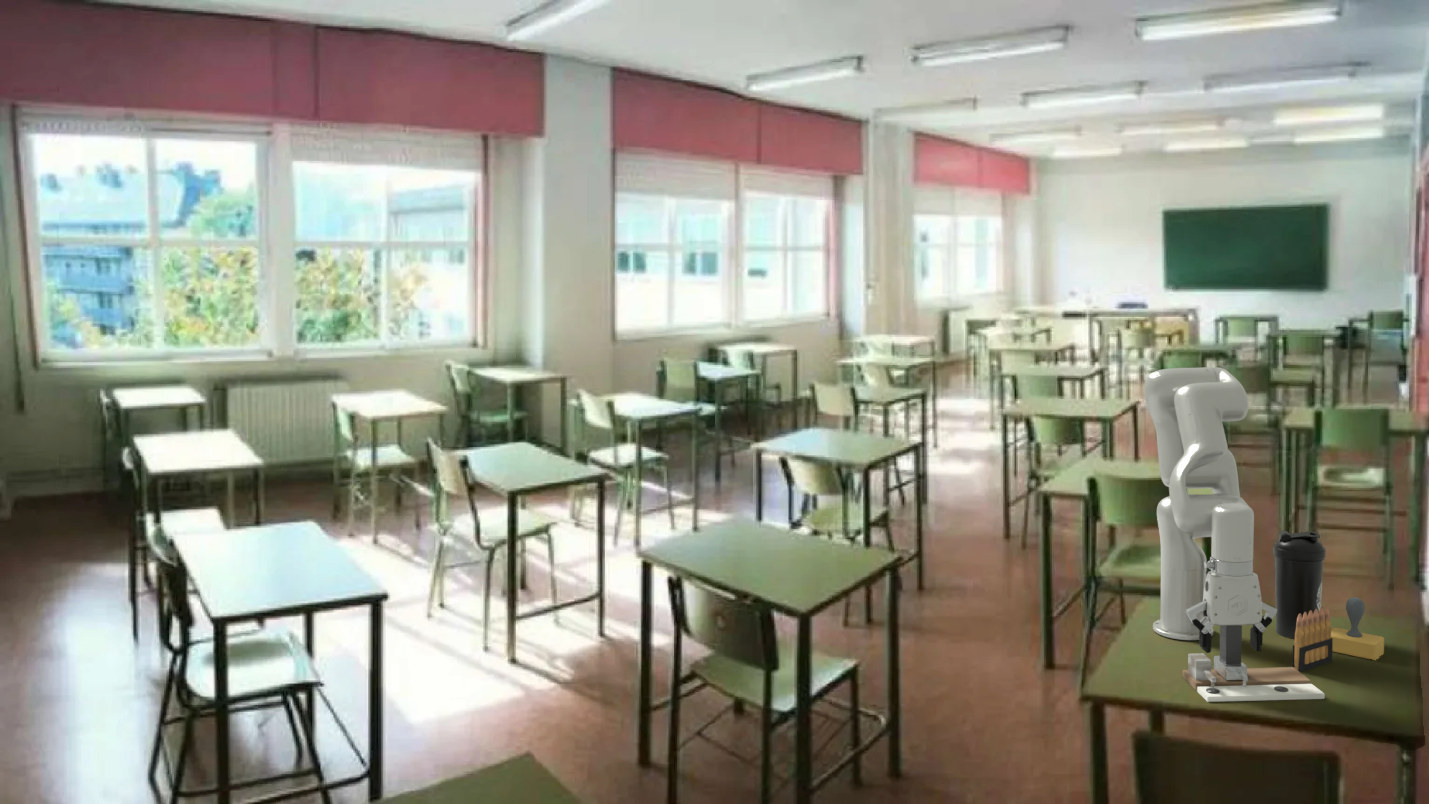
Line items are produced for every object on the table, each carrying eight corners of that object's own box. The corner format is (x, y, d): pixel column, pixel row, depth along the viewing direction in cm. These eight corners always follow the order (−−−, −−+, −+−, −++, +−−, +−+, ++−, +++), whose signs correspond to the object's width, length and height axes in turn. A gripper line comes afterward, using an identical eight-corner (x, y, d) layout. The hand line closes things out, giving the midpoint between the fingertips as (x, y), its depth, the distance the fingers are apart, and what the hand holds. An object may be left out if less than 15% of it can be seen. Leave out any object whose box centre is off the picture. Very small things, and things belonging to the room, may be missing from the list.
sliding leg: (1213, 668, 222) (1214, 617, 220) (1233, 668, 222) (1234, 617, 220) (1234, 687, 212) (1235, 634, 210) (1256, 687, 212) (1257, 634, 210)
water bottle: (1326, 642, 238) (1329, 539, 235) (1274, 639, 242) (1276, 537, 239) (1319, 627, 247) (1321, 528, 244) (1268, 624, 251) (1270, 526, 248)
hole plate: (1197, 691, 215) (1197, 685, 215) (1311, 688, 214) (1311, 682, 214) (1207, 701, 210) (1207, 695, 210) (1324, 698, 209) (1324, 692, 209)
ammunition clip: (1299, 672, 223) (1301, 615, 221) (1291, 669, 224) (1292, 613, 223) (1332, 661, 228) (1334, 605, 226) (1324, 658, 229) (1325, 603, 228)
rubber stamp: (1384, 653, 231) (1386, 598, 229) (1375, 661, 227) (1377, 605, 225) (1332, 643, 238) (1334, 589, 236) (1323, 650, 234) (1324, 596, 232)
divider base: (1182, 677, 223) (1182, 651, 222) (1293, 674, 222) (1293, 648, 221) (1203, 697, 212) (1203, 670, 212) (1319, 694, 211) (1319, 667, 211)
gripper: (1194, 573, 213) (1193, 658, 215) (1285, 570, 212) (1283, 655, 214) (1180, 562, 220) (1179, 644, 222) (1267, 560, 219) (1266, 642, 221)
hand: (1230, 649), depth 218 cm, fingers open, 9 cm apart
